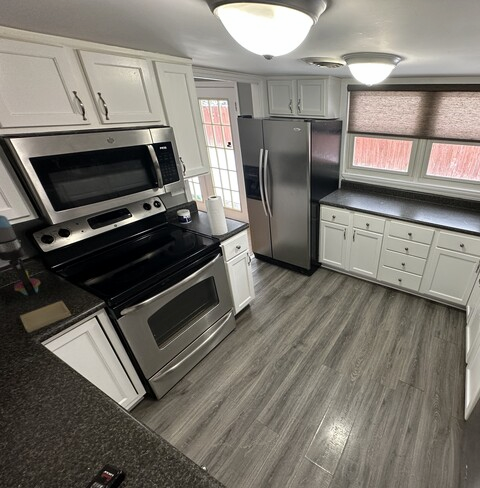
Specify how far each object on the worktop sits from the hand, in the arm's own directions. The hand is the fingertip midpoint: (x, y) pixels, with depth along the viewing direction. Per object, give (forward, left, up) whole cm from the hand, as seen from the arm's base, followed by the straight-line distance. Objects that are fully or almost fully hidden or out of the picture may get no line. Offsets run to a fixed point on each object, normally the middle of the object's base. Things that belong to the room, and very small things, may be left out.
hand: (30, 291), depth 128 cm
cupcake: (0, 0, -1) cm, 1 cm away
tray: (+21, 0, -5) cm, 22 cm away
